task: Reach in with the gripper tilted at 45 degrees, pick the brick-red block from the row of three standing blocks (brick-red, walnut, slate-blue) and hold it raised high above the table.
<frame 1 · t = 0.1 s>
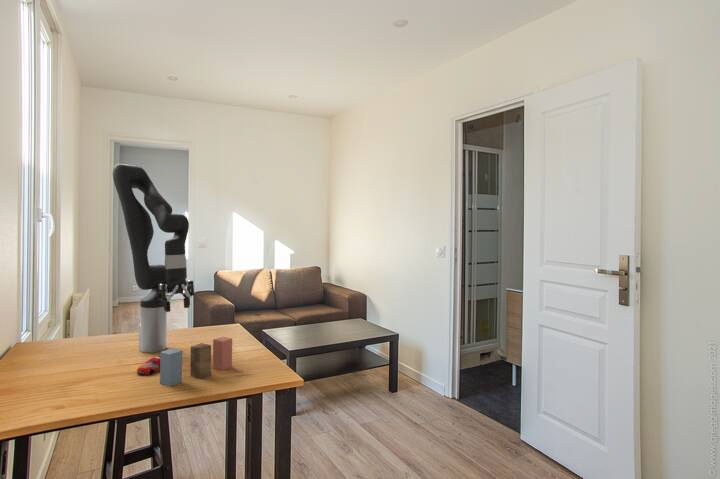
hand: (177, 309, 159), 17 cm above the table, tool pointing down, fingers open, 8 cm apart
slate block: (171, 382, 132), on the table
red block: (222, 367, 147), on the table
walnut block: (200, 375, 139), on the table
race car: (155, 370, 144), on the table
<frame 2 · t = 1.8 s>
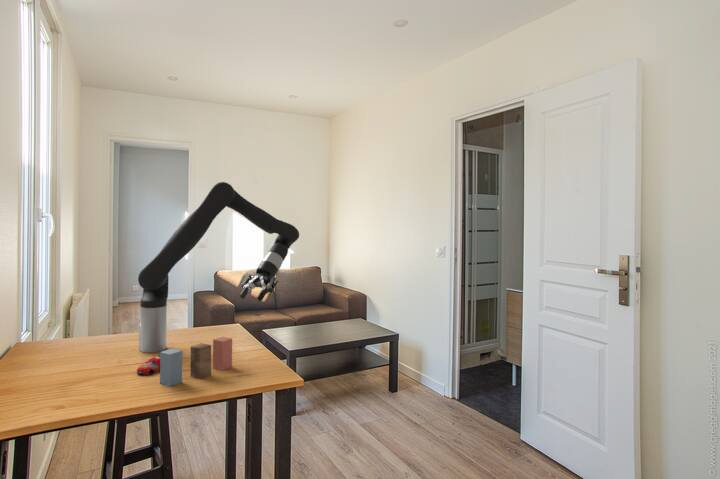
hand: (249, 298, 159), 22 cm above the table, tool tilted 45°, fingers open, 8 cm apart
nothing on the table moved.
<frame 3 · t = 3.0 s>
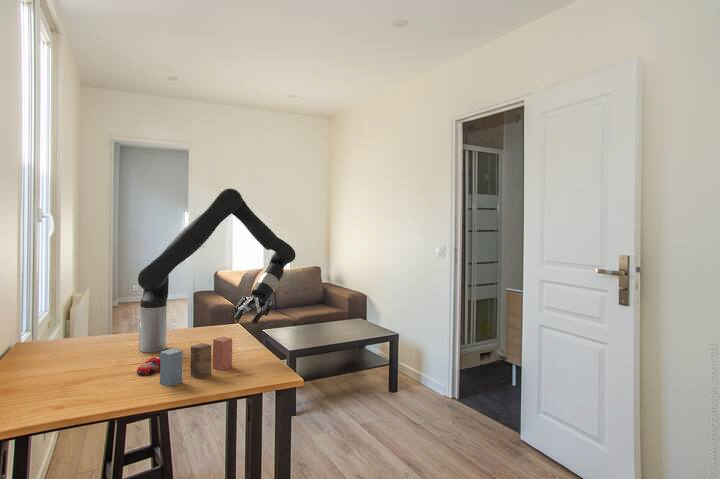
hand: (244, 321, 157), 14 cm above the table, tool tilted 45°, fingers open, 8 cm apart
nothing on the table moved.
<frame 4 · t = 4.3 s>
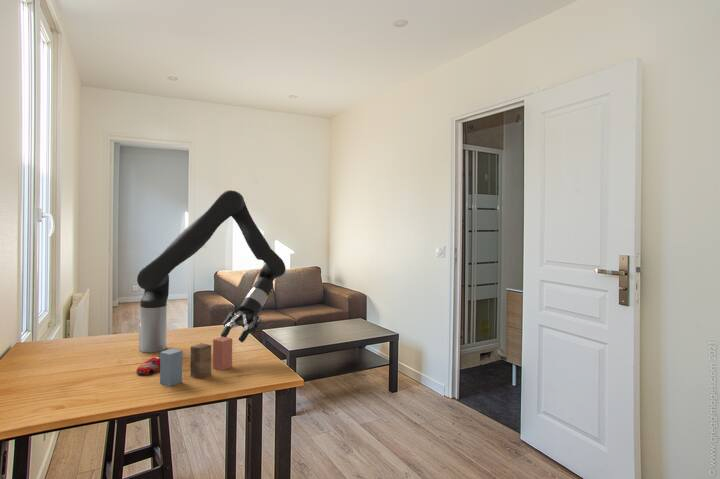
hand: (231, 339, 151), 9 cm above the table, tool tilted 45°, fingers open, 8 cm apart
nothing on the table moved.
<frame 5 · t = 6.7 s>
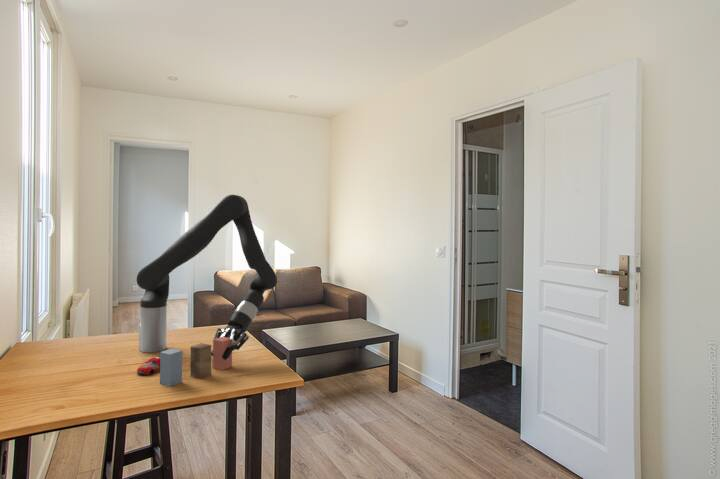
hand: (218, 357, 146), 4 cm above the table, tool tilted 45°, fingers closed on red block, 4 cm apart
red block: (222, 367, 147), on the table, touching gripper
everything else where it was.
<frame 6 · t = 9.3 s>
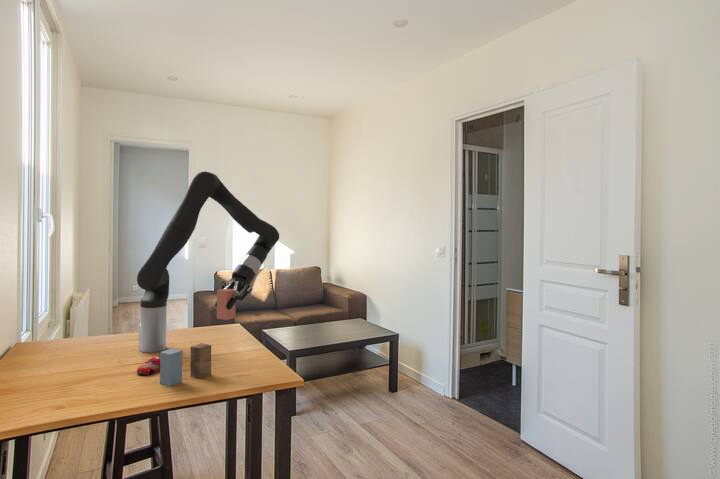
hand: (222, 307, 147), 21 cm above the table, tool tilted 45°, fingers closed on red block, 4 cm apart
red block: (226, 318, 149), point 17 cm above the table, touching gripper
everything else where it was.
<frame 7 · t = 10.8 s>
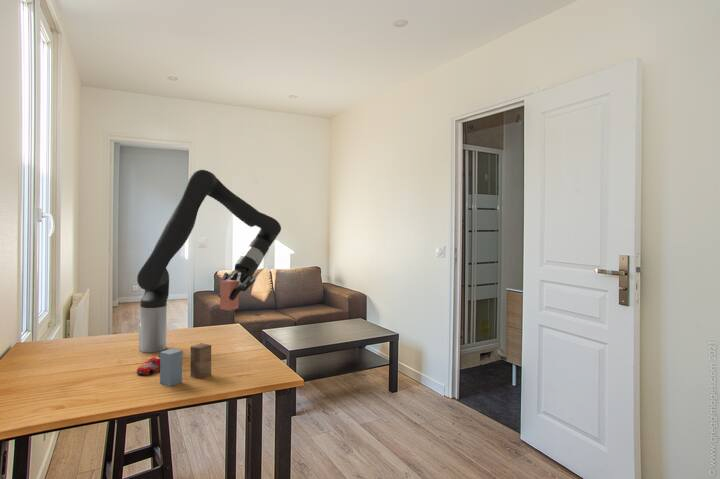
hand: (225, 297, 149), 24 cm above the table, tool tilted 45°, fingers closed on red block, 4 cm apart
red block: (229, 308, 151), point 20 cm above the table, touching gripper
everything else where it was.
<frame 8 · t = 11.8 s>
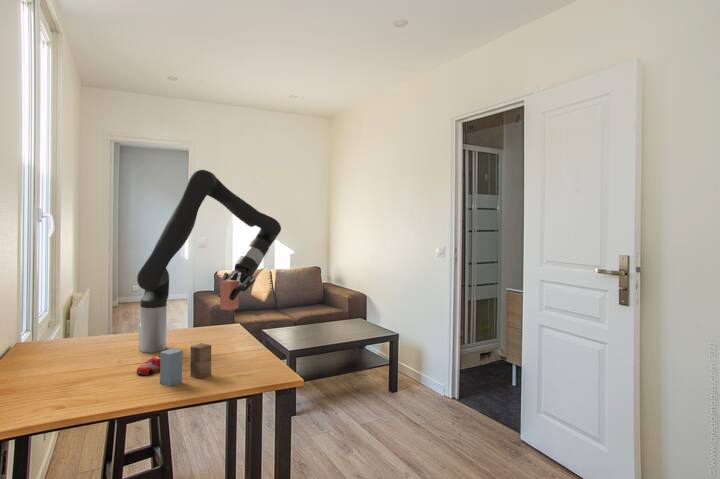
hand: (225, 297, 149), 24 cm above the table, tool tilted 45°, fingers closed on red block, 4 cm apart
red block: (229, 308, 151), point 20 cm above the table, touching gripper
everything else where it was.
at the end: the gripper is holding red block; red block point 19.9 cm above the table; walnut block moved 0.0 cm from its start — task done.
